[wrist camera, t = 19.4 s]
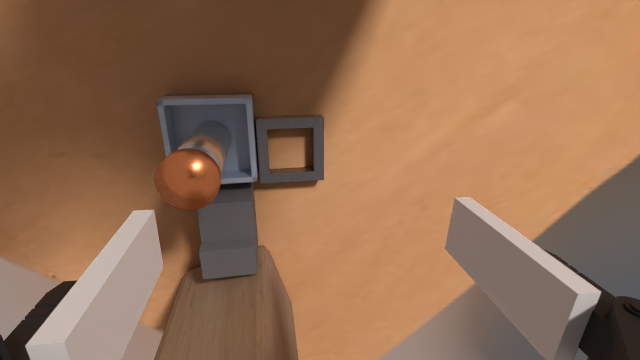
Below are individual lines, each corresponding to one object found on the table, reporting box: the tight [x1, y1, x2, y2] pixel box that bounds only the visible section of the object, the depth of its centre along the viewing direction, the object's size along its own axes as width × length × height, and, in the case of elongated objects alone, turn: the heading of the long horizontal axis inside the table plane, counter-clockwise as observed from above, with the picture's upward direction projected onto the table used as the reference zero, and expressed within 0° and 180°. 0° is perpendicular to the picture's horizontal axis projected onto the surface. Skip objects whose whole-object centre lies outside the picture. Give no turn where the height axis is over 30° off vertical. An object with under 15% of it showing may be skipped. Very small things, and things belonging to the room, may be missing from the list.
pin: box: [155, 121, 232, 210], centre depth 27 cm, size 4×4×12 cm
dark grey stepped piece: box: [197, 183, 258, 279], centre depth 34 cm, size 7×5×6 cm
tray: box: [156, 94, 258, 184], centre depth 32 cm, size 8×8×3 cm
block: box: [154, 246, 298, 360], centre depth 31 cm, size 10×10×20 cm
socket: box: [256, 115, 324, 184], centre depth 34 cm, size 7×7×2 cm
